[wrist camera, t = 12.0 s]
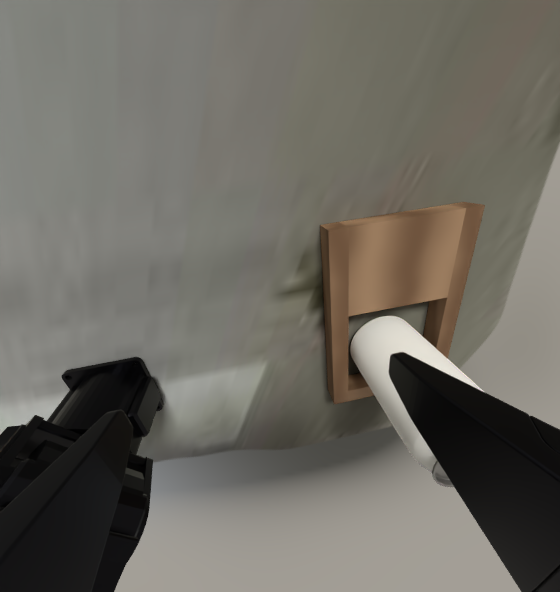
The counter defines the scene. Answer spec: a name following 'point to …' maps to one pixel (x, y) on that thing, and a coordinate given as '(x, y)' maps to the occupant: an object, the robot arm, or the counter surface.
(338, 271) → the wooden tray frame
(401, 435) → the can
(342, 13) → the counter surface
